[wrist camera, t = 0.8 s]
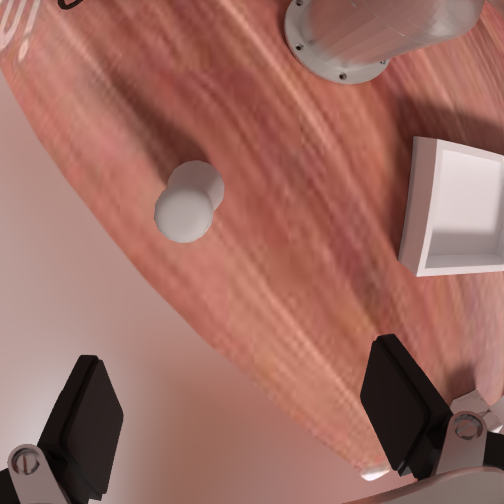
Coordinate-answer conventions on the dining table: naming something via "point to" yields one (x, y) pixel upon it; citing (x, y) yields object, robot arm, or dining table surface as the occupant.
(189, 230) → the salt shaker
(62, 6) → the coffee mug
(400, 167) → the dining table surface
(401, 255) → the bin
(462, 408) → the supplement box
